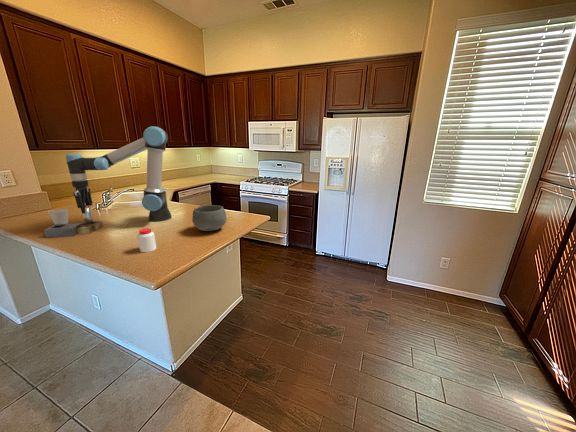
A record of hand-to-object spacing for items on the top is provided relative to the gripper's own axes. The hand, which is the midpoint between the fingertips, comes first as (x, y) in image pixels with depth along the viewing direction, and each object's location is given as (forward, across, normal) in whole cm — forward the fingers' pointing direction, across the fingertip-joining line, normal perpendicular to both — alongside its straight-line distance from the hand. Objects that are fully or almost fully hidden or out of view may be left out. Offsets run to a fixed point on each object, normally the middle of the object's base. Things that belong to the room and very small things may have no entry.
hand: (88, 216), depth 152 cm
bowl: (+9, +15, +76) cm, 78 cm away
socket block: (+8, +7, -10) cm, 15 cm away
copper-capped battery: (+7, 0, 0) cm, 7 cm away
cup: (+9, -9, -21) cm, 24 cm away
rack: (+8, 0, 0) cm, 8 cm away
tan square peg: (+8, +7, -2) cm, 11 cm away
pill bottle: (+9, +40, +46) cm, 62 cm away
